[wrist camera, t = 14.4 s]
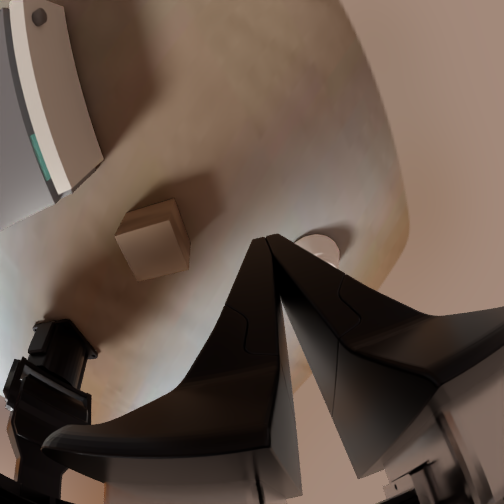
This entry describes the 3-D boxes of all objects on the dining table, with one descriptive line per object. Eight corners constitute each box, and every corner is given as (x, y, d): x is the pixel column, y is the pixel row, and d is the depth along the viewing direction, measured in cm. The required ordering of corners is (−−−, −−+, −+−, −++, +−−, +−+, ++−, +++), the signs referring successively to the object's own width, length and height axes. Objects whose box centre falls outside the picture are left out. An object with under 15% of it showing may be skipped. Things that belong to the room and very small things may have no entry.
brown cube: (190, 243, 23) (188, 269, 20) (145, 255, 23) (137, 282, 20) (174, 198, 20) (168, 220, 17) (126, 213, 20) (114, 236, 17)
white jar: (335, 272, 27) (336, 227, 24) (347, 292, 24) (350, 245, 21) (285, 283, 27) (280, 238, 24) (292, 305, 24) (288, 259, 21)
